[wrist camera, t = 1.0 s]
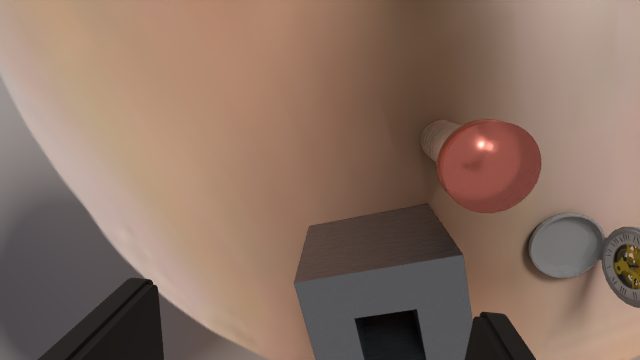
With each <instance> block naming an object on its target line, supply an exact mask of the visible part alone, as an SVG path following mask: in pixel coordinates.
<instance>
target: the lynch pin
mask: <svg viewBox="0 0 640 360" xmlns="http://www.w3.org/2000/svg"><path fill="white" fill-rule="evenodd" d="M420 144H421V147H422V149H423V151H424V152H425V153H426V154H427V155H428V156H429V157H430V158H431V159H432V160H434V161H435V162H436V163H437V174H438V178H439V181H440V183H441V185H442V187H443V188H444V189H445V191H446V192H447V193H448V194H449V195H450V196H451V197H452V198H453V199H454V200H455V201H456V202H457V203H458V204H460V205H461V206H462V207H464V208H466V209H468V210H471V211H474V212H479V213H495V212H500V211H503V210H506V209H509V208H511V207H513V206H515V205H516V204H518V203H519V202H521V201H522V200H523V199H524V198H525V197H526V196H527V195H528V194H529V193H530V192H531V190H532V189H533V188H534V186H535V184H536V182H537V180H538V178H539V174H540V170H541V154H540V151H539V147H538V145H537V143H536V142H535V140H534V139H533V137H532V136H531V135H530V134H529V133H528V132H527V131H525V130H524V129H522V128H521V127H519V126H516V125H514V124H511V123H506V122H502V121H498V120H492V119H481V120H475V121H472V122H469V123H467V124H464V125H463V126H461V125H458V124H456V123H453V122H450V121H447V120H437V121H434V122H432V123H430V124H429V125H427V126H426V127H425V129H424V130H423V132H422V134H421V138H420Z"/></svg>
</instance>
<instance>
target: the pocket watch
mask: <svg viewBox="0 0 640 360" xmlns="http://www.w3.org/2000/svg"><path fill="white" fill-rule="evenodd" d="M631 246H633V247H634V251H632V250H631V249H630V247H631ZM635 246H636V247H637V248H635ZM636 251H637V253H636ZM626 252H627V257H625V255H626ZM629 253H633V255H634V256H633V257H634V258H631V257H628V256H629ZM529 256H530V259H531V260H532V262H533V264H534V265H535V266H536V267H537V268H538V269H539V270H540V271H541V272H542V273H544V274H546V275H548V276H552V277H556V278H567V277H574V276H577V275H580V274H582V273H584V272H586V271H587V270H589V269H590V268H592V267H593V266H594V265H595V263H596V262H597V261H598V260H599V259H602V268H603V271H604V275H605V278H606V280H607V282H608V284H609V286H610V288H611V289H612V290H613V292H614V293H615V294H616V295H617V297H618V298H620V299H621V300H623V301H624V302H625V303H627V304H629V305H631V306H633V307H637V308H640V285H639V282H640V228H638V227H622V228H619V229H617V230H615V231H613V232H612V233H611V234H610V235H609V236H608V238H605V237H604V234H603V231H602V229H601V227H600V226H599V225H598V224H597V223H596V222H595V221H593V220H592V219H590V218H588V217H586V216H584V215H580V214H577V213H564V214H559V215H556V216H553V217H551V218H549V219H547V220H546V221H544V222H543V223H542V224H540V225H539V226H538V227H537V228H536V230H535V231H534V232H533V234H532V236H531V238H530V241H529ZM633 260H635V263H634V262H633ZM637 273H638V274H639V275H638V274H637ZM629 274H630V277H631V276H632V278H631V279H632V281H631V280H630V279H629V277H628V275H629ZM637 279H638V280H637ZM636 281H637V282H636ZM638 281H639V282H638ZM635 283H636V284H637V283H638V284H637V286H636V285H635Z"/></svg>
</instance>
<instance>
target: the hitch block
mask: <svg viewBox="0 0 640 360" xmlns="http://www.w3.org/2000/svg"><path fill="white" fill-rule="evenodd" d="M294 285H295V288H296V292H297V296H298V299H299V303H300V306H301V310H302V313H303V317H304V320H305V324H306V327H307V331H308V334H309V338H310V341H311V345H312V348H313V352H314V355H315V359H316V360H465V355H466V351H467V346H468V341H469V337H470V332H471V328H472V323H473V321H472V314H471V307H470V300H469V293H468V285H467V278H466V271H465V264H464V257H463V254H462V252H461V251H460V249H459V248H458V247H457V245H456V244H455V242H454V241H453V239H452V238H451V236H450V235H449V233H448V232H447V231H446V229H445V228H444V226H443V225H442V223H441V222H440V220H439V219H438V218H437V216H436V215H435V213H434V212H433V210H432V209H431V207H430V206H429V204H424V205H419V206H414V207H408V208H403V209H398V210H392V211H387V212H382V213H376V214H371V215H366V216H361V217H355V218H350V219H345V220H339V221H334V222H329V223H323V224H318V225H313V226H309V229H308V232H307V236H306V240H305V244H304V247H303V251H302V255H301V259H300V262H299V266H298V270H297V273H296V277H295V281H294Z"/></svg>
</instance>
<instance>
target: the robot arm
mask: <svg viewBox="0 0 640 360" xmlns="http://www.w3.org/2000/svg"><path fill="white" fill-rule="evenodd" d="M159 308H160V307H159V296H158V287H157V286H156V285H153V282H152V280H150V279H140V278H130V279H128V280H127V281H126V282H124V283H123V284H122V285H121V286H120V287H119V288H118V289H117V290H115V291H114V292H113V293H112V294H111V295H110V296H109V297H108V298H107V299H105V301H103V302H102V303H101V304H100V305H99V306H98V307H96V308H95V309H94V310H93V311H92V312H91V313H90V314H88V315H87V316H86V317H85V318H84V319H83V320H82V321H81V322H80V323H78V324H77V325H76V326H75V327H74V328H73V329H72V330H71V331H69V332H68V333H67V334H66V335H65V336H64V337H63V338H62V339H61V340H59V341H58V342H57V343H56V344H55V345H54V346H53V347H52V348H50V349H49V350H48V351H47V352H46V353H45V354H44V355H43V356H42V357H40V358H39V359H38V360H163V359H164V354H163V342H162V331H161V319H160V309H159ZM465 360H536V359H535V357H534V356H533V354H532V353H531V351H530V350H529V348H528V347H527V345H526V344H525V342H524V341H523V340H522V338H521V337H520V335H519V334H518V332H517V331H516V329H515V328H514V326H513V325H512V323H511V322H510V321H509V319H508V318H507V316H506V315H505V314H501V313H491V312H482V313H481V314H480V316H479V317H477V316H476V317H474V319H473V323H472V328H471V332H470V337H469V341H468V346H467V351H466V355H465Z"/></svg>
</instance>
